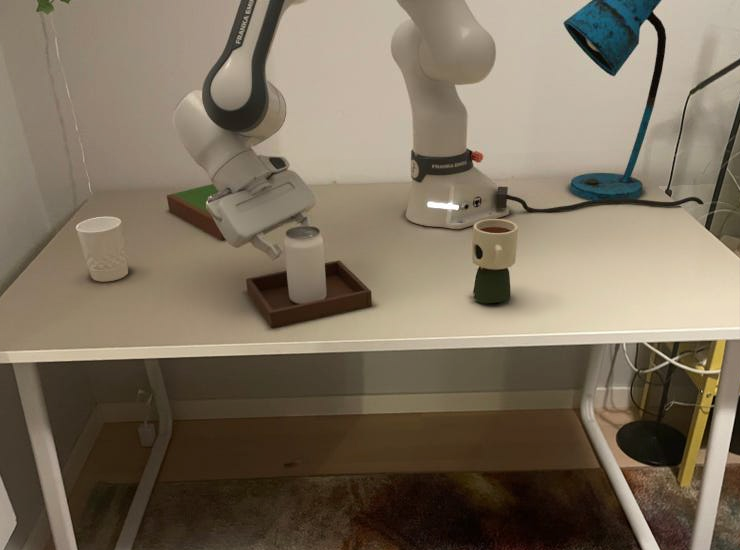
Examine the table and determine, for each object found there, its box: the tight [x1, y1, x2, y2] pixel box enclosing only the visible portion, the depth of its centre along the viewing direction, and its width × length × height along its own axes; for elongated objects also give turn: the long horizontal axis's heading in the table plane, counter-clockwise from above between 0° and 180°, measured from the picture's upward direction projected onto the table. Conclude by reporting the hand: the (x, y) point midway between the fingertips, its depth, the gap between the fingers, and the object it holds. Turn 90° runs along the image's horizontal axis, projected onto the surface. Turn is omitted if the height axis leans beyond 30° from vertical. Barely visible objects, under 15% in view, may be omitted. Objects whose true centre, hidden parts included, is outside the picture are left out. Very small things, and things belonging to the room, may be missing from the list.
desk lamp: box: [563, 0, 667, 201], centre depth 161 cm, size 16×22×45 cm
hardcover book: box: [166, 183, 226, 241], centre depth 166 cm, size 25×19×4 cm
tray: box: [245, 260, 373, 329], centre depth 128 cm, size 18×15×3 cm
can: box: [283, 225, 326, 304], centre depth 125 cm, size 6×6×12 cm
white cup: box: [75, 216, 129, 283], centre depth 138 cm, size 8×8×10 cm
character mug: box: [471, 218, 519, 304], centre depth 123 cm, size 11×7×13 cm, turn 179°
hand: (295, 247), depth 125 cm, fingers open, 8 cm apart
